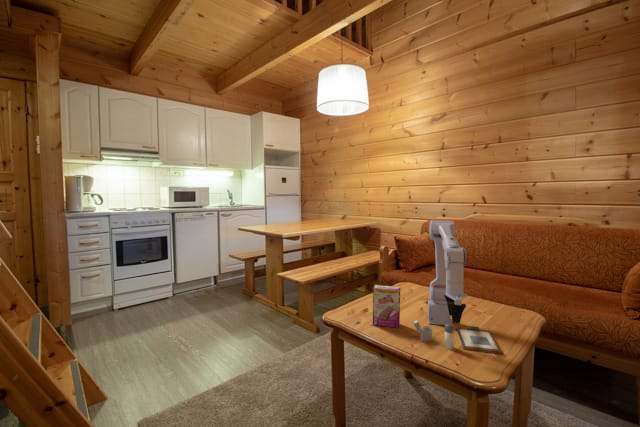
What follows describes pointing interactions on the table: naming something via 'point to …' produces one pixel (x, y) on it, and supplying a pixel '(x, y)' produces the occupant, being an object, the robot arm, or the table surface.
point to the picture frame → (477, 339)
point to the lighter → (423, 332)
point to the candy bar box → (386, 306)
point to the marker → (449, 336)
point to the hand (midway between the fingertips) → (454, 318)
